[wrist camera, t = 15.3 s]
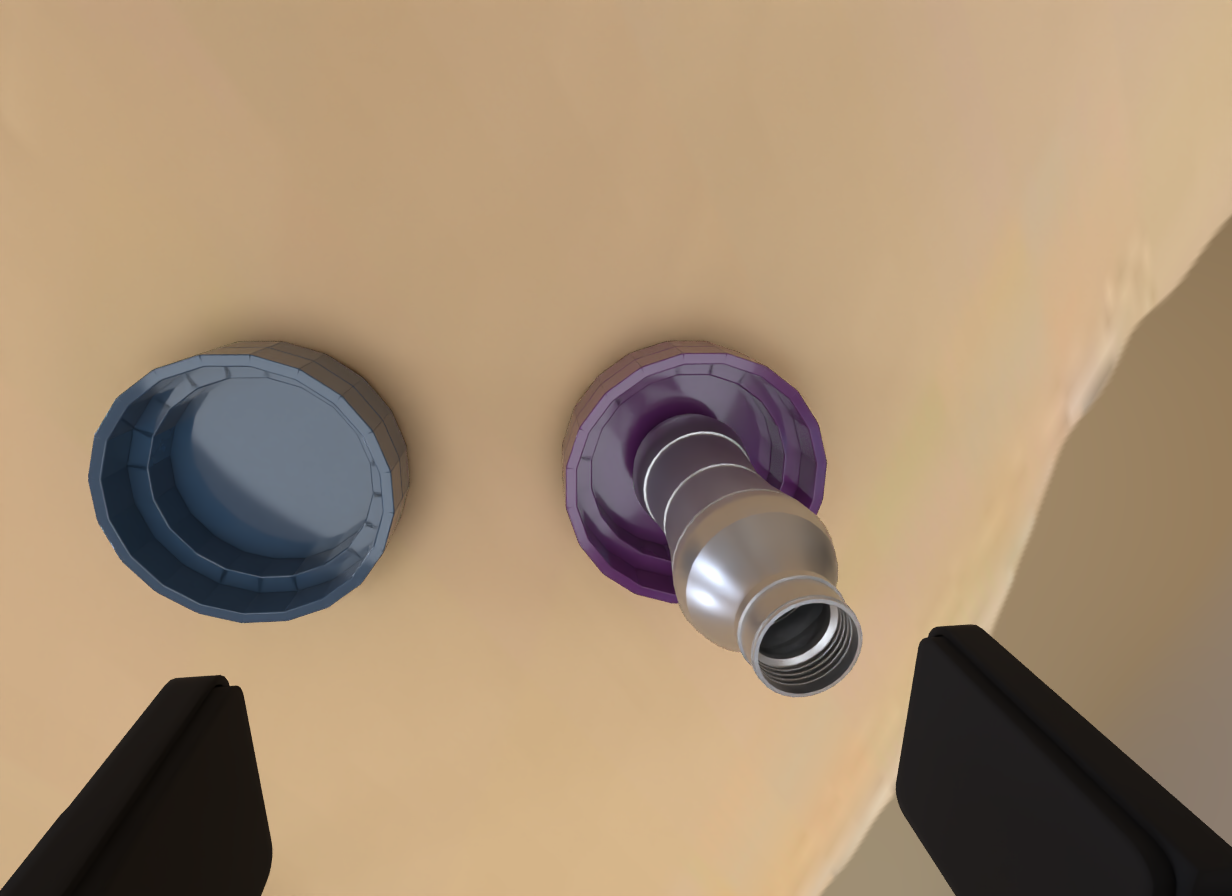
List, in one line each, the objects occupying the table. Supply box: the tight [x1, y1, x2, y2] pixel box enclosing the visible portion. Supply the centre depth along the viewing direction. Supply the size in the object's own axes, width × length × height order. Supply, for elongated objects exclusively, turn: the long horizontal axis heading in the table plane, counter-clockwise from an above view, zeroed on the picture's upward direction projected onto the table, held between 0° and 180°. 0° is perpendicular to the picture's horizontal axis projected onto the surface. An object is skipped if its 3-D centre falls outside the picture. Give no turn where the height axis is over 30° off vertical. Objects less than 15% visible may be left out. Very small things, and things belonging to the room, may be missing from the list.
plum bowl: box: [562, 341, 827, 603], centre depth 39 cm, size 14×14×5 cm
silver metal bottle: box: [633, 414, 862, 697], centre depth 31 cm, size 6×7×20 cm
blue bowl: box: [88, 341, 410, 623], centre depth 36 cm, size 14×14×5 cm
